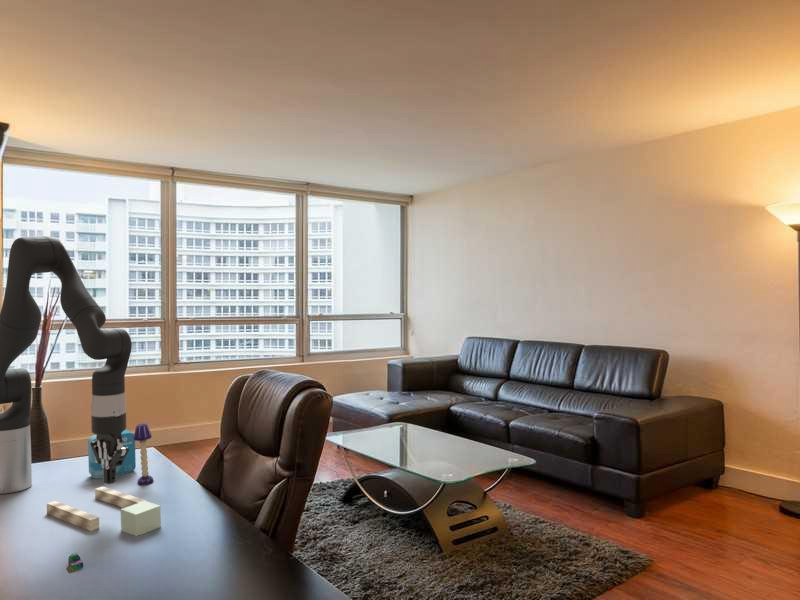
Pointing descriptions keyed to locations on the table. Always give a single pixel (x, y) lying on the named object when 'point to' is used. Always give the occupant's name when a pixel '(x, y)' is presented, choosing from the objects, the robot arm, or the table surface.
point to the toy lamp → (143, 452)
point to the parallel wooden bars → (85, 518)
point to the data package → (126, 467)
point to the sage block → (140, 518)
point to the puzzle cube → (74, 563)
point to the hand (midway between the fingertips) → (110, 482)
